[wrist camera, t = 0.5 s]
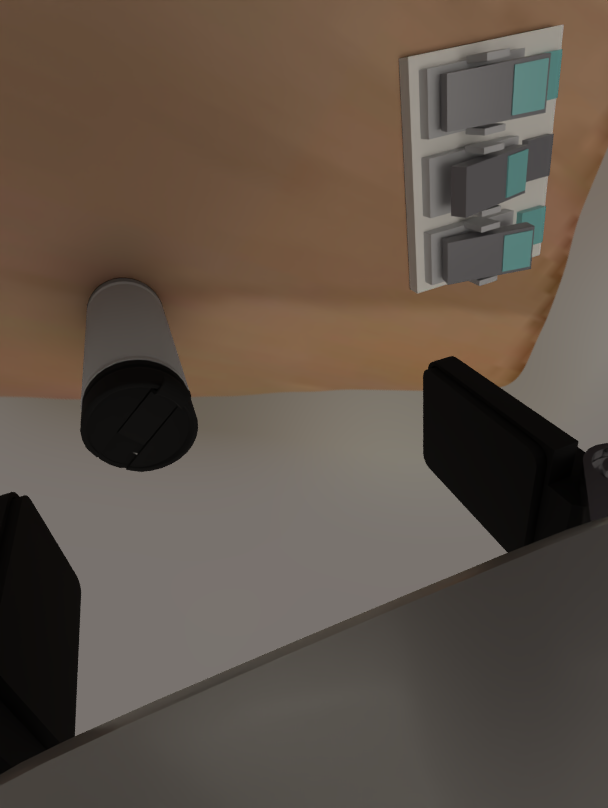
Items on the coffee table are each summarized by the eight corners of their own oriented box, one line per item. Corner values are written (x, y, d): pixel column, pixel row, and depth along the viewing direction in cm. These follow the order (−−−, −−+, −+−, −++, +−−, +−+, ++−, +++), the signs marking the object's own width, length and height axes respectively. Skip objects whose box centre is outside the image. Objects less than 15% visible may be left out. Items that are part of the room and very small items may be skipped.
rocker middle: (451, 166, 41) (468, 167, 39) (512, 144, 44) (530, 144, 43) (450, 216, 43) (467, 218, 42) (509, 191, 46) (526, 193, 45)
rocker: (442, 238, 46) (448, 243, 45) (526, 221, 46) (535, 226, 44) (442, 279, 48) (448, 285, 47) (523, 263, 48) (531, 269, 47)
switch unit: (398, 58, 40) (435, 52, 36) (550, 26, 43) (601, 17, 39) (409, 289, 51) (438, 305, 47) (530, 251, 54) (567, 264, 50)
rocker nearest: (440, 73, 39) (447, 73, 37) (541, 53, 39) (552, 52, 37) (441, 130, 41) (447, 132, 40) (535, 111, 41) (546, 112, 39)
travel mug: (179, 302, 44) (226, 414, 28) (137, 358, 45) (158, 497, 29) (116, 258, 40) (127, 358, 24) (71, 321, 42) (53, 455, 25)
